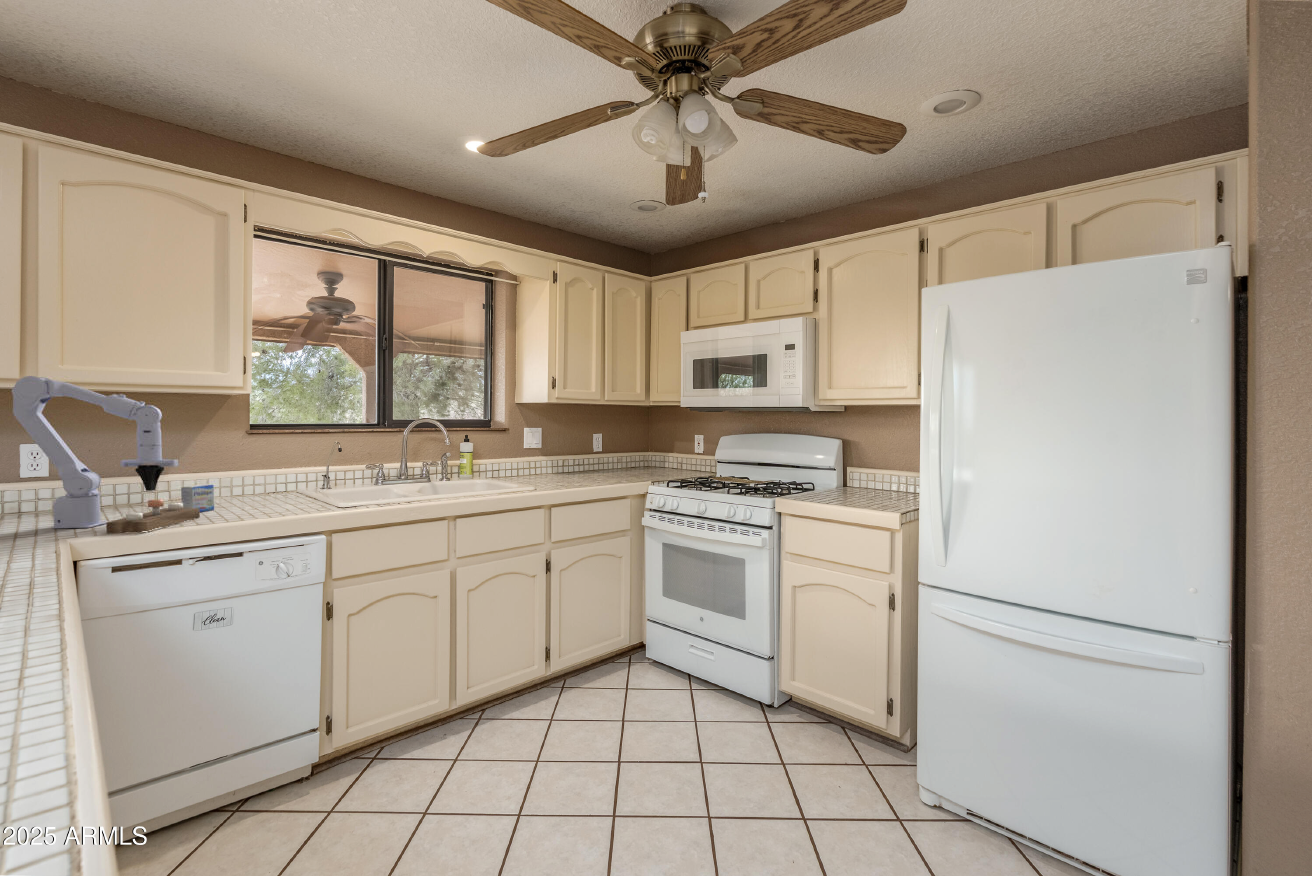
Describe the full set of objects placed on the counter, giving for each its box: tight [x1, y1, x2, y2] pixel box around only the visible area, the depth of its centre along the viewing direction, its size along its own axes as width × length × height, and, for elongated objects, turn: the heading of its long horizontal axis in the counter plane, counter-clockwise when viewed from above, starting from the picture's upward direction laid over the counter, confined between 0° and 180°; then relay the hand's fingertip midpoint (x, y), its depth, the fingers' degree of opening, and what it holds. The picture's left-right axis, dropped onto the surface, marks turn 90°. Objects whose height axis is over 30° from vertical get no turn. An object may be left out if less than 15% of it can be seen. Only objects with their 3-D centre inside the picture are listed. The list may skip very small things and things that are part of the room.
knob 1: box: [125, 512, 143, 521], centre depth 169 cm, size 4×4×4 cm
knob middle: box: [147, 498, 165, 515], centre depth 178 cm, size 4×4×4 cm
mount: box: [105, 507, 201, 534], centre depth 178 cm, size 10×24×3 cm, turn 8°
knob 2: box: [167, 502, 183, 511], centre depth 187 cm, size 4×4×4 cm
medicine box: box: [180, 483, 215, 513], centre depth 202 cm, size 8×4×9 cm, turn 168°
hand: (150, 490), depth 183 cm, fingers closed
